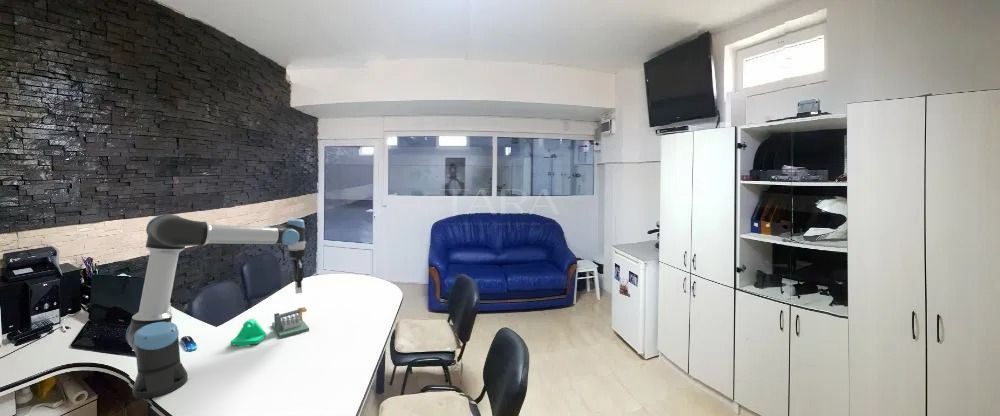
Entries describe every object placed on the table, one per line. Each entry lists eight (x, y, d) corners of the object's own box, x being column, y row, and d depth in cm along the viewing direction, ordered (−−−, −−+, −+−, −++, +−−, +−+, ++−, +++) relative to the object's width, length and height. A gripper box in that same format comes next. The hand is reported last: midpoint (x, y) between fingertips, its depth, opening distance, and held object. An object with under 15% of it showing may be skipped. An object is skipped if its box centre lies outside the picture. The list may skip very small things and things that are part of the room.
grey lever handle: (306, 311, 188) (306, 308, 188) (276, 320, 179) (276, 317, 179) (304, 309, 191) (304, 306, 191) (275, 317, 182) (274, 314, 181)
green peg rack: (309, 330, 183) (308, 314, 182) (280, 338, 174) (279, 321, 173) (299, 318, 196) (298, 303, 196) (272, 325, 188) (271, 309, 187)
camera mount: (229, 347, 165) (228, 326, 164) (239, 339, 172) (237, 319, 171) (258, 345, 167) (256, 324, 166) (266, 338, 174) (265, 318, 173)
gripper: (308, 250, 182) (310, 294, 184) (301, 245, 191) (303, 288, 194) (292, 252, 177) (293, 297, 179) (285, 247, 186) (287, 291, 189)
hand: (298, 292), depth 186 cm, fingers closed
